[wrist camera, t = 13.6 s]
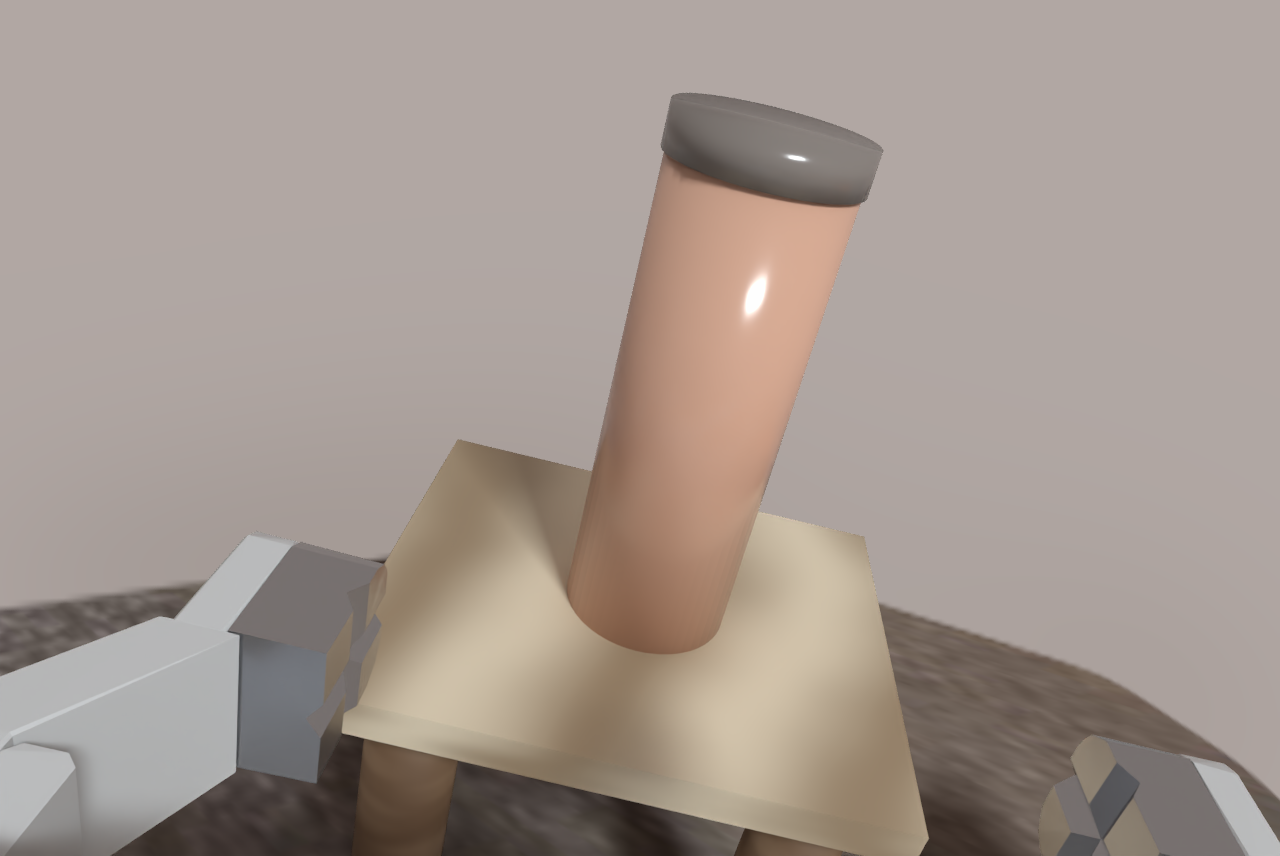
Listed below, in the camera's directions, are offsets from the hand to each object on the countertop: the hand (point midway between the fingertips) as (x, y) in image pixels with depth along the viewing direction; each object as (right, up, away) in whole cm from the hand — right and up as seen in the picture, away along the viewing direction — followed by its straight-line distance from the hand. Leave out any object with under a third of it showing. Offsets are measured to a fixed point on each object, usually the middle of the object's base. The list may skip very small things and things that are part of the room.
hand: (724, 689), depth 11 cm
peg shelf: (-3, -10, +20) cm, 22 cm away
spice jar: (-1, -2, +15) cm, 15 cm away
